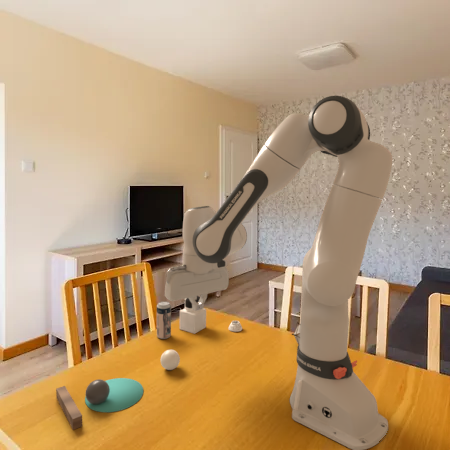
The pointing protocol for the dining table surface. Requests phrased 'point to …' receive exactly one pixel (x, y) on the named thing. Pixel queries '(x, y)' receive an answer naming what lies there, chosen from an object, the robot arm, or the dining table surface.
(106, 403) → the teal mark
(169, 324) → the beer can
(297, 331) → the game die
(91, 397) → the dark grey ball
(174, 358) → the cue ball
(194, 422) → the dining table surface
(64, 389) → the walnut rail
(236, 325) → the white jar
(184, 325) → the medicine bottle
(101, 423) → the dining table surface
